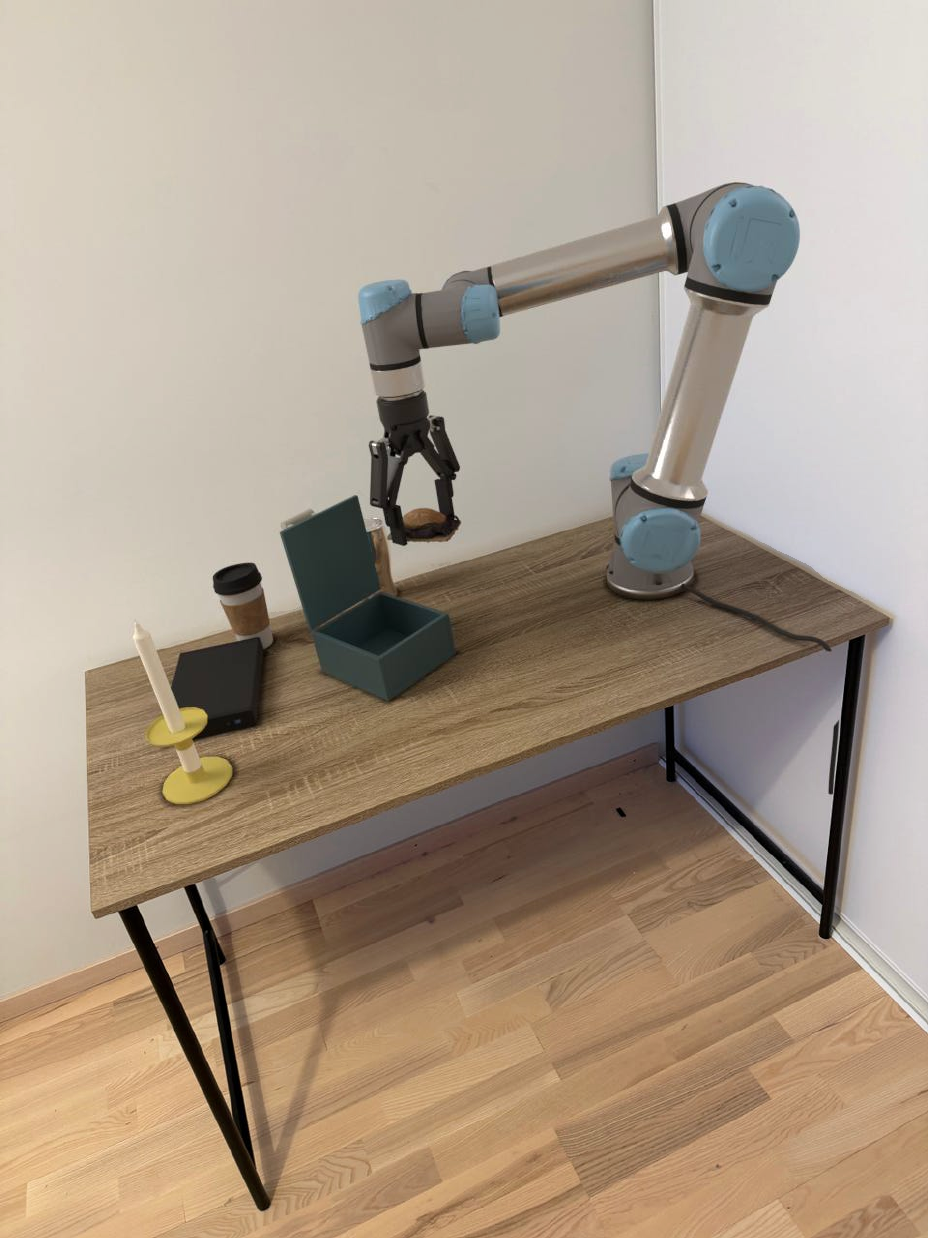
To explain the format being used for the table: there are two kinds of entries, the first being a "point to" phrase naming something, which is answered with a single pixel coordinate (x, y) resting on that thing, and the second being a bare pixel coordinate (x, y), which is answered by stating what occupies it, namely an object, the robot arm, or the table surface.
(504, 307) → the robot arm
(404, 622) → the bread box
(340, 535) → the bread box lid
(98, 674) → the table surface
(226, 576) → the coffee cup
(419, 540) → the bread roll
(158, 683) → the candle
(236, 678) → the external hard drive
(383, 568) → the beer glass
